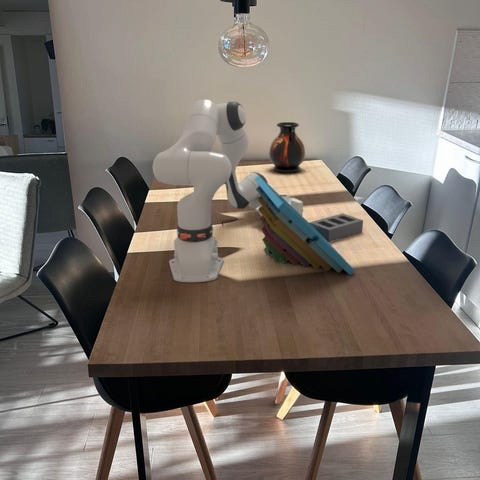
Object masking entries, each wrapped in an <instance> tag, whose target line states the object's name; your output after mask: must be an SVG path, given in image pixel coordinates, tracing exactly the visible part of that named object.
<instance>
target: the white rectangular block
mask: <svg viewBox="0 0 480 480" xmlns="http://www.w3.org/2000/svg"><path fill="white" fill-rule="evenodd" d="M295 199H296V198H295ZM295 199H294V200H291V206H292V207H293V208H294V209H295V210H296V211H297V212H298V213H299V214H300V215H301V216H302V217H303V212H304V201H302V200H300V201H298V200H299V199H298V200H295ZM301 201H302V202H301Z"/></svg>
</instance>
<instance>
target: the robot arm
mask: <svg viewBox="0 0 480 480" xmlns="http://www.w3.org/2000/svg"><path fill="white" fill-rule="evenodd" d="M245 124H246V112H245V110H244V107H243V105H242V104H240V102H238V101H228V102H224V103H217V104H216V103H214V102H213V101H212V100H210V99H205V98H203V99H200V100H197V101H195V103H194V104H193V105H192V107H191V109H190V111H189V113H188V115H187V118H186V122H185V124H184V125H185V126H184V129H183V131H182V135H181V136H180V138H179V139H178V140H177V141H176V142H175V144H173V145H172V146H170V147H168V148H167V149H166V150H164V151H162V152H161V151H160V152H159V153H158V154H157V155H156V156H155V158H154V159H153V161H152V162H153V163H152V173H153V175H154V177H155V179H156V180H157V181H158V182H159V183H163V184H166V185H167V184H168V185H172V186H173V185H174V186H192V187H193V192H191V193H189V194H186V195H184V196H183V197H181V198H180V199H179V201H178V202H177V205H176V206H177V207H176V209H177V226H176V233H177V238H175V239H174V240H173V245H174V254H173V256H172V259H170V260H169V261H168V262H169V263H168V264H169V267H170V268H169V269H170V271H171V275H172V278H173V280H174V281H176V282H180V283H201V282H202V283H203V282H209V281H210V282H211V281H214V280H216V279H217V278H218V276H219V274H220V271H221V270H222V267H223V264H224V263H225V261H224V258H222V257H219V253H218V251H219V246H218V239H217V238H216V237H214V235H213V234H214V233H213V230H214V228H213V223H212V217H211V216H212V215H211V214H212V203H213V199H214V196H215V195H216V193H217V191H218V190H219V189H220V188H221V187H222V186H223V185H225V189H226V197H227V200H228V203H229V204H230V205H231V206H232V207H233V208H234V209H237V210H243V209H245V208H247V207H250V208H252V209H254V210H255V211H254V212H256V213H258V215H260V216H261V217H262V216H263V215H262V214H261V212H260V211H259V208H260V207H261V206H262V205H261V204H260V203H259V201H258V200H257V199H258V198H259V197H260V194H259V193H258V192H257V190H256V189H257V187H258V186H259V184H258V183H257V182H256V181H255V179H256V177H257V176H258V175H259V176H260V177H261V178H262V179H263V180H264V181H265V182H266V183H268V180H267V178H266V177H265V176H264V175H263V174H261V173H259V172H257V171H251V172H249V174H247V175H246V176H245V177H244V178H243V179H242V180H240V181H239V182H238V177H237V173H236V170H237V166H238V165H239V163H240V161H241V160H242V158H243V156H245V154H246V152H247V150H248V148H249V144H250V142H249V137H248V134H247V131H246V129H245V127H244V125H245ZM217 137H218V140H219V143H220V146H221V147H220V149H221V150H220V151H221V153H220V152H215V151H212V150H213V148H214V146H215V143H216V138H217ZM268 184H269V183H268ZM279 195H280V196H281V197H282V198H283V199H284V200H285V201H286V202H288V203H289V204H290V205H291V200H294V199H295V200H298V201H301V202H303V201H302V200H300V199H297V198H295V197H291V196H290V195H289V194H279Z"/></svg>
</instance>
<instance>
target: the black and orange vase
mask: <svg viewBox="0 0 480 480" xmlns="http://www.w3.org/2000/svg"><path fill="white" fill-rule="evenodd" d="M299 126H300V124H299V123H297V122H291V121H290V122H289V121H288V122H287V121H284V122H278V123H277V124H276V127H278V128H279V133H278V135H277V136H276V137H275V138H274V139H273V141H271V145H270V147H269V152H268V153H269V154H268V157H269V160H270V162H271V163H272V164H273V165H274V166H273V167H272V169H273V171H274V172H276V173H279V174H295V173H298V172H300V170H301V166H300V165H302V163H303V162H304V161H305V158H306V150H305V149H306V148H305V145H304V143H303V141H302V140H301V138H300V137H299V136H298V135H297V133H296V128H297V127H299Z"/></svg>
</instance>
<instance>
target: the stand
mask: <svg viewBox="0 0 480 480" xmlns="http://www.w3.org/2000/svg"><path fill="white" fill-rule="evenodd" d="M308 222H309V223H310V224H311V225H312V226H313V227H314V228H315V229H316V230H317V231H318V232H319V233H320V234H321V235H322V236H323V237H324V238H325V239H326V240H327V241H328V242H329V243H330V242H333V241H337V240H341V239H344V238H347V237H350V236H353V235H356V234H360V233H362V232H363V226H364V220H363V219H360V218H358V217H354V216H352V215H349V214H347V213H339V214H334V215H331V216H328V217H325V218H320V219H315V220H314V221H313V220H312V221H308Z"/></svg>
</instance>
